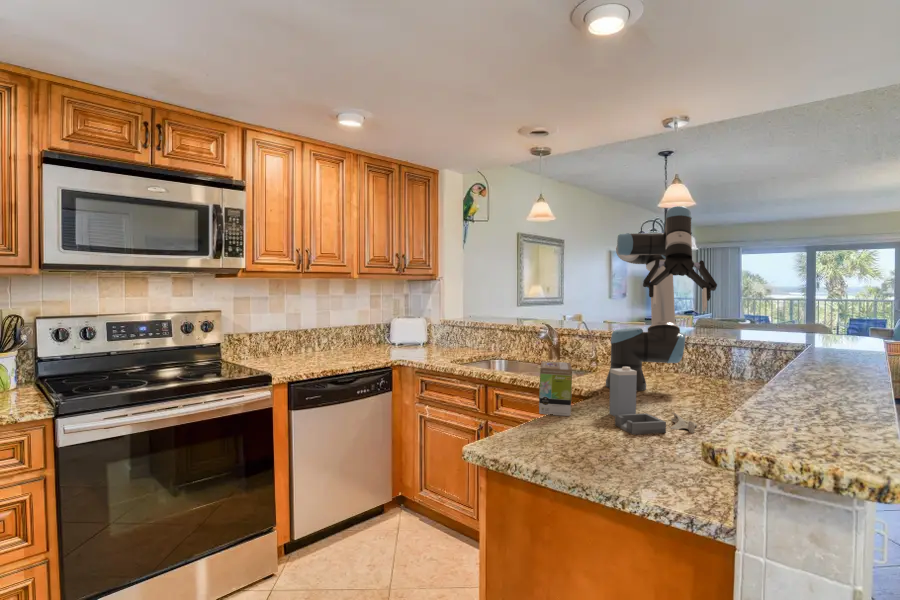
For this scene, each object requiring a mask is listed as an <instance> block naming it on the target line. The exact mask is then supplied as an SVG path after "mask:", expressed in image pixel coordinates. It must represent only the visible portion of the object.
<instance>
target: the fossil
mask: <svg viewBox="0 0 900 600" xmlns="http://www.w3.org/2000/svg"><path fill="white" fill-rule="evenodd" d="M671 415H674V416H673V418H671V419H670V420H671V421H672V422H673V423H674V424H673V425H672V426H670V427H671V428H670V429H671V430H681V429H686V430H688V432H689V433H691V434H693V433H695V430H696V427H697V426H698V424H697V423H696V422H695V421H692V420H686V419H684V418H683V417H681V416H680V415H679V414H677V413H676V412H673V411H672V412H671Z"/></svg>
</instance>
